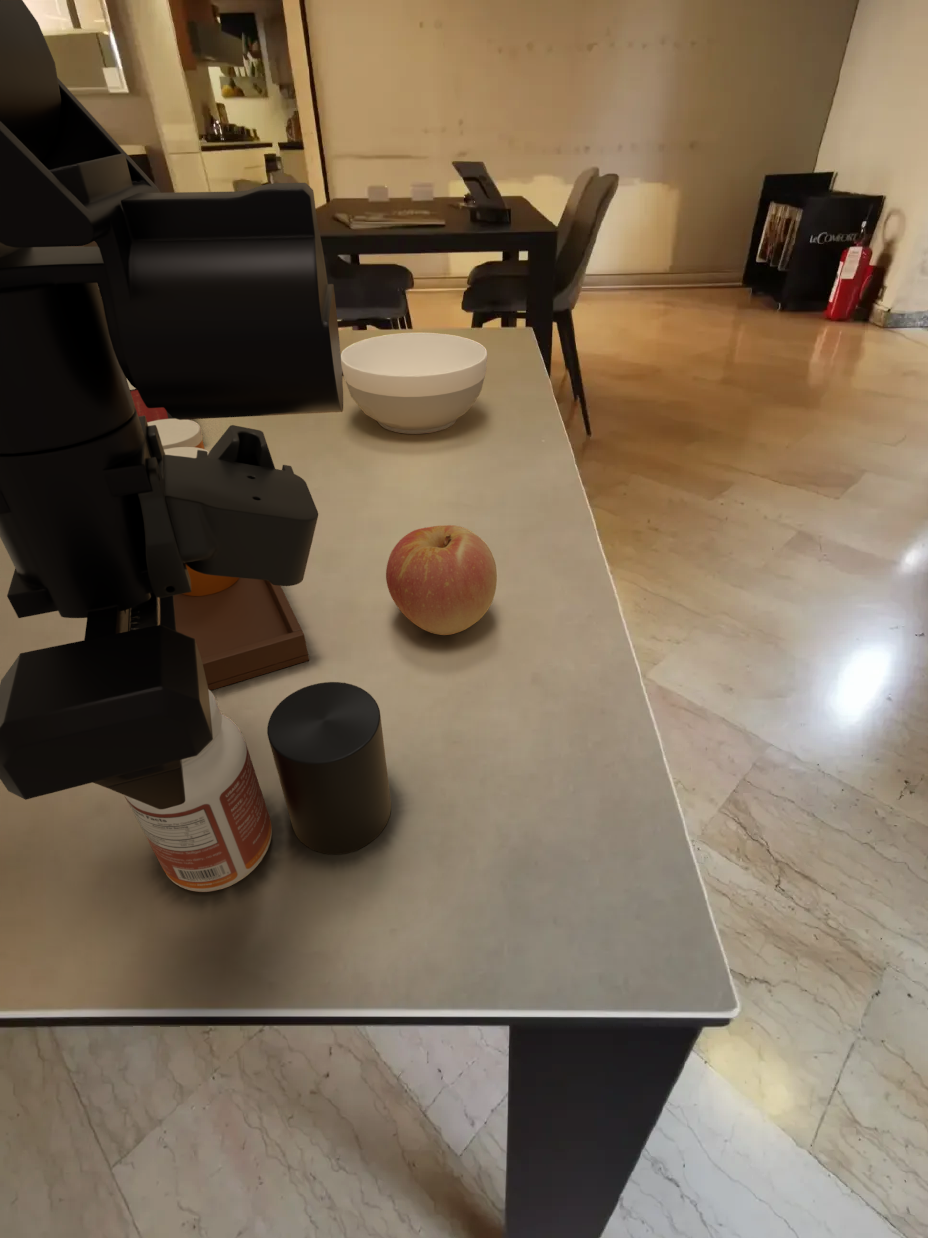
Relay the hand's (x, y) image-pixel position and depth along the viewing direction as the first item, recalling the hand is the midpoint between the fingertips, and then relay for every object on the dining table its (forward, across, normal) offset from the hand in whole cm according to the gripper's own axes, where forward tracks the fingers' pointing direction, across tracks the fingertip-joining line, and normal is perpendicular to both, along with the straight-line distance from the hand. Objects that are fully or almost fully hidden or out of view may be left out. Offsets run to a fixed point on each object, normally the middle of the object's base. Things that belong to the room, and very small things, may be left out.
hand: (170, 730), depth 33 cm
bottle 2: (+9, +28, -1) cm, 30 cm away
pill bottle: (+10, 0, 0) cm, 10 cm away
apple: (+10, +16, -19) cm, 27 cm away
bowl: (+10, +59, -30) cm, 67 cm away
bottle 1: (+9, +35, 0) cm, 37 cm away
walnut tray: (+10, +27, -1) cm, 29 cm away
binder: (+10, +70, +7) cm, 71 cm away
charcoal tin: (+10, 0, -7) cm, 12 cm away
